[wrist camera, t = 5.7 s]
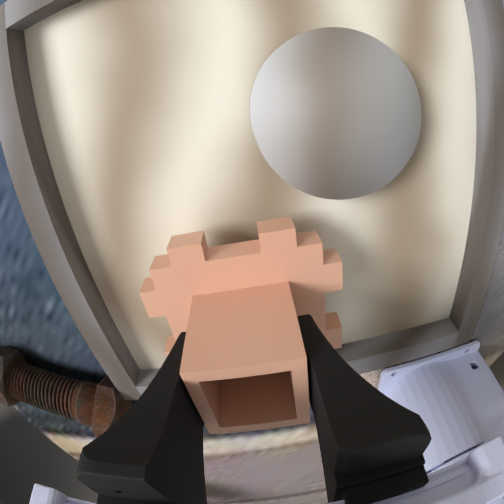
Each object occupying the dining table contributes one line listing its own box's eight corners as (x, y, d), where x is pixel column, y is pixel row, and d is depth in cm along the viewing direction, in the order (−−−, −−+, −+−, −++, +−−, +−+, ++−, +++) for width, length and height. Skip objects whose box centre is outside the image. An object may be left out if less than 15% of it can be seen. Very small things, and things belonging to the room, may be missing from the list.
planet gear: (333, 210, 13) (384, 283, 8) (335, 354, 17) (360, 436, 12) (133, 242, 13) (86, 325, 9) (185, 375, 17) (175, 457, 13)
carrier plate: (464, -39, 8) (509, -51, 5) (455, 321, 20) (480, 358, 17) (9, 21, 9) (-41, 17, 6) (131, 375, 21) (120, 420, 17)
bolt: (-11, 326, 21) (134, 368, 23) (-8, 376, 21) (133, 422, 22) (-51, 338, 15) (112, 398, 17) (-44, 395, 15) (114, 460, 17)
